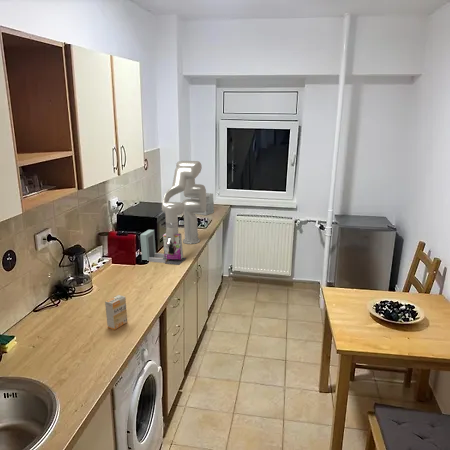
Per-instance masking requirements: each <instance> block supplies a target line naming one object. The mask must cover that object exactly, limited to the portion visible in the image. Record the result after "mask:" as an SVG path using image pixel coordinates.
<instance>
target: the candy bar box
mask: <svg viewBox="0 0 450 450" xmlns="http://www.w3.org/2000/svg"><path fill="white" fill-rule="evenodd" d="M182 237H183V236H182V233H179V232H178V234H176V235H175V242H174V243H173V248H174V254H171V253H169V247H168V245H167V243H166V232H165V233H163V235H162V242H163V254H164V256H165V258H166V261H168V260H181V259H182V258H184V254H183V252H184V250H183V239H182ZM170 243H172V242H170ZM171 245H172V244H171Z"/></svg>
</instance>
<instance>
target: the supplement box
mask: <svg viewBox="0 0 450 450" xmlns="http://www.w3.org/2000/svg"><path fill="white" fill-rule="evenodd" d="M126 299H127V298H126V296H125V295H120V294H117V295H115V296H113V297H111V298H109V299H107V300H105V301H104V305H105V306H104V307H105V315H106V323H107V328H108V329H111V330H113V331H115V330H117V329H119V328H120V327H122V326H123V325H124V326H125V324H127V323H128V313H127V301H126Z"/></svg>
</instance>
